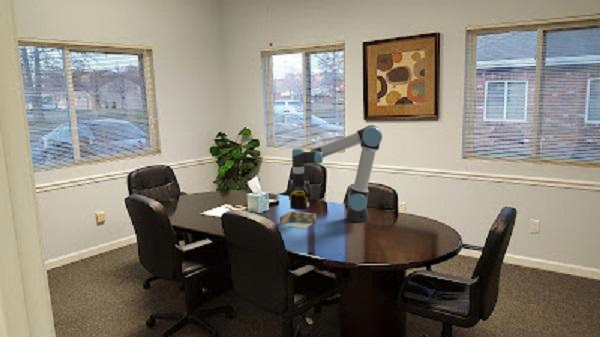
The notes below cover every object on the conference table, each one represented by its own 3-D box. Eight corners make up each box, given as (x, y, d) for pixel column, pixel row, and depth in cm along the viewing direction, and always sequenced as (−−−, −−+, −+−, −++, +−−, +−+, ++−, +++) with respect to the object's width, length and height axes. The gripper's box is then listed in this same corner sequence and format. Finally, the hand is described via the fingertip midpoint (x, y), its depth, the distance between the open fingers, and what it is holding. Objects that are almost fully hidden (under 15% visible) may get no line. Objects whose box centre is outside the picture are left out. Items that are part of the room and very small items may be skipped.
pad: (312, 223, 300) (312, 223, 300) (304, 228, 290) (304, 228, 290) (296, 221, 306) (296, 221, 305) (288, 226, 295) (288, 226, 295)
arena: (316, 222, 302) (315, 213, 301) (306, 228, 289) (305, 219, 288) (291, 219, 311) (290, 211, 310) (280, 225, 298) (279, 217, 297)
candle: (290, 209, 292) (289, 194, 290) (293, 205, 301) (293, 190, 300) (305, 209, 289) (305, 194, 288) (308, 205, 299) (308, 190, 297)
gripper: (317, 172, 289) (318, 206, 293) (285, 170, 300) (286, 202, 304) (312, 174, 283) (313, 208, 287) (279, 172, 294) (281, 205, 297)
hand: (299, 205), depth 295 cm, fingers closed on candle, 11 cm apart
